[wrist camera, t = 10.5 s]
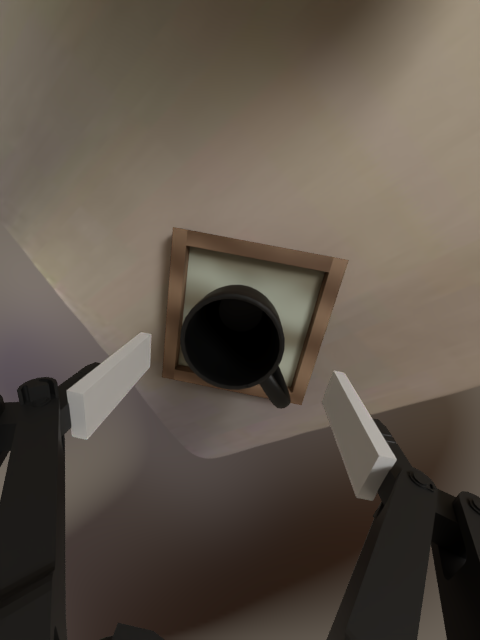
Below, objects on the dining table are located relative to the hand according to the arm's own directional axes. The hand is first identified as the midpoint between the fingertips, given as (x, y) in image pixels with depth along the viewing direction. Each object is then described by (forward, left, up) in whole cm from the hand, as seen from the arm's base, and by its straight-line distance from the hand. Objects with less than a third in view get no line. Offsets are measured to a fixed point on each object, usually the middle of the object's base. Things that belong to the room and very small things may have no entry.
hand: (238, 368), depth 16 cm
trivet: (0, 0, -12) cm, 12 cm away
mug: (0, 0, -11) cm, 11 cm away
